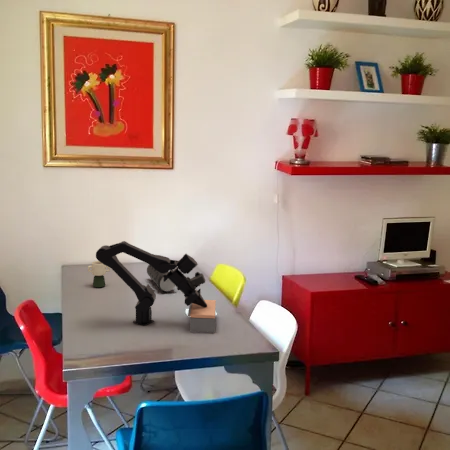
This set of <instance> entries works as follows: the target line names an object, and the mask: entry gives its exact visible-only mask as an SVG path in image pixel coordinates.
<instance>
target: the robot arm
mask: <svg viewBox="0 0 450 450" xmlns="http://www.w3.org/2000/svg"><path fill="white" fill-rule="evenodd" d="M122 253H123V254H126V255H128V256H131V257H132V258H135V259H137V260H139V261H142V262H144V263H146V264H147V265H151V266H152V267H153V268H154V269H155V270H157V271H158V272H160V273H167V272H168V273H167V274H164V275H163V277H164V282H165V281H166V280H167V279H169V280H170V281H171V282H172V283H173V284H174V285H175V287H176V290H177V291H180V293H182V294H183V296H184V304H185V305H186V306H187V307H189V306H190V304H191V303H193V304H197V305H200V306H202V307H205V308H206V307H207V304H206V302H205V301H204V300H205V299H204V298H203V296H202V295H201V293H202V292H201V288H199V289H197V288H198V287H200V286H201V285H203V284H206V279H205V275H204V274H203V273H200V272H199V271H196V272H194V273H195V274H194V276H192V278H190V277H189V276H186V275H187V274H190V272H192V271H193V269H195V268H196V267H197V266H198V265H199V264H198V262H197V261H196V260H195V258H193V256H192V257H191V256H190V255H189V254H188V253H185V254H183V256H182V257H181V258H180V259H179V260H176V259H170V258H169V257H166V256H164V255H161V254H160V255H158V254H154V253H151V252H148V251H146V250H144V249H142V248H139V247H137V246H135V245H133V244H131V243H129V242H127V241H125V240H123V241H121V242H119V243H114V244H111V245H105V244H104V245H102V246H101V247H100V248H99V249H97V250H96V252H95V258H96V261H100V262H101V263H102V264H104V265H106V266H108V267H110V269H111V270H112V271H113V273H115V274H116V275H117V277H119V278H120V279H121V280H122V281H123V282H124V283H125V285H127V286H128V287H129V288H130V289H131V290H132V291H133V293H134V294H135V297H136V298H137V302H136V304H135V306H134V308H135V320H132V321H133V322H132V323H134V324H137V325H140V326H144V327H145V326H147V325H150V324H152V323H154V322H155V321H154V320H153V319H152V314H153V313H152V312H153V311H152V307H153V305H154V304H155V301H156V299H157V298H156V293H155V289H153V288H152V287H151V286H150V285H149V283H148V284H147V285H144V284H143V283H141V282H140V281H139V280H138V279H137V278H136V277H135V276H134V275H133V273H131V271H130V270H128V268H127V267H125V265H123V264H122V263H121V261H120V260H119V259H118V255H119V254H122ZM108 267H107V268H108Z"/></svg>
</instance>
